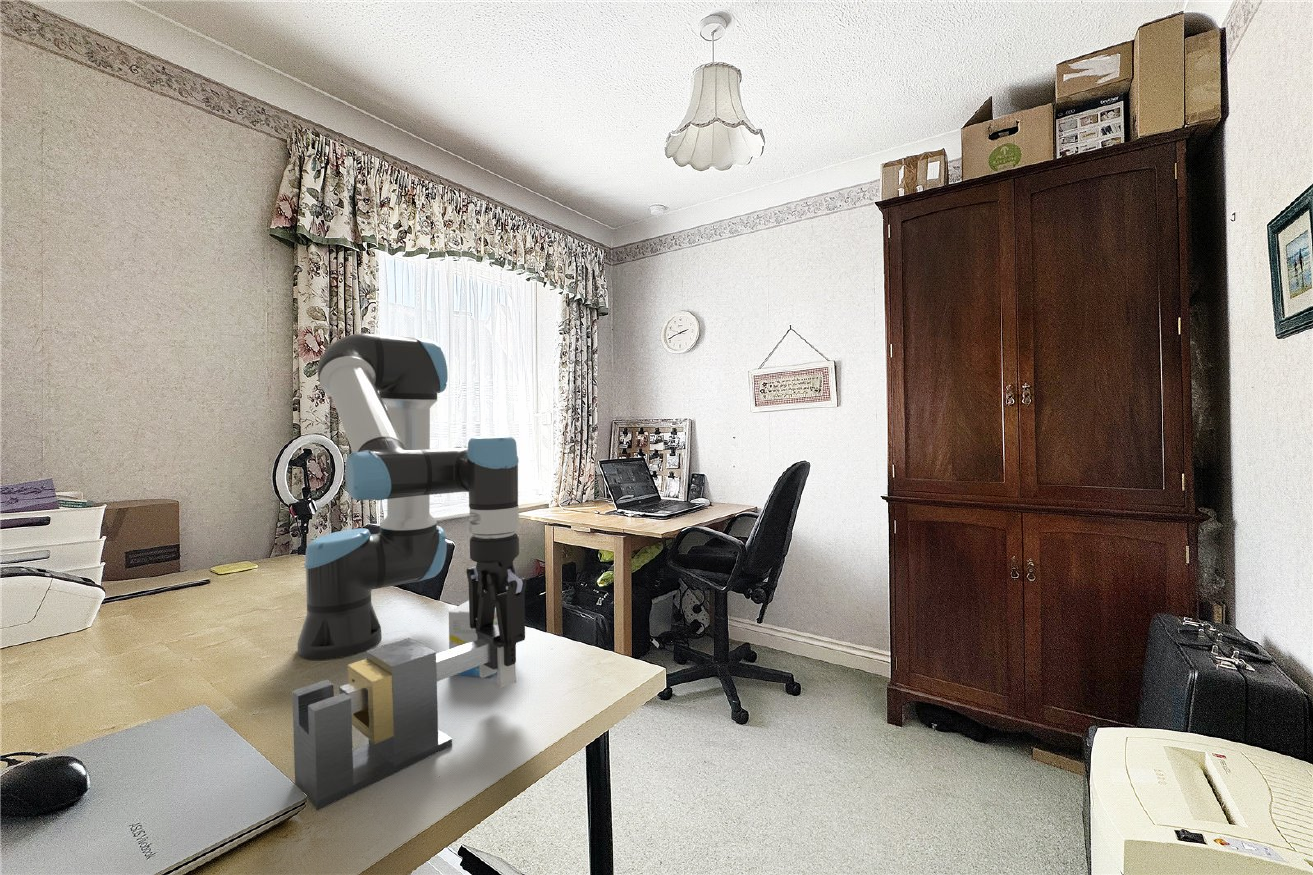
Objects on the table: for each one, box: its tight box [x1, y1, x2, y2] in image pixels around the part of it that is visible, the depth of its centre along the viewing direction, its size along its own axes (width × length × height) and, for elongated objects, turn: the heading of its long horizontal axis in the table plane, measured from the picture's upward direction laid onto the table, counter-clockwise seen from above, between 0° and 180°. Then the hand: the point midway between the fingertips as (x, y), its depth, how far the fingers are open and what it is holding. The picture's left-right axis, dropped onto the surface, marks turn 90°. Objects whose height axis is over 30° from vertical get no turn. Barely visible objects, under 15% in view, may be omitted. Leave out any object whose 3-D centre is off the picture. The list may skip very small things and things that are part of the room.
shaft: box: [339, 624, 500, 714], centre depth 80 cm, size 4×24×5 cm, turn 139°
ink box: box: [448, 599, 498, 678], centre depth 104 cm, size 9×8×12 cm
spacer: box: [347, 658, 394, 744], centre depth 73 cm, size 8×2×8 cm, turn 49°
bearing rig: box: [291, 637, 453, 811], centre depth 74 cm, size 8×17×14 cm, turn 139°
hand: (497, 678), depth 88 cm, fingers closed on shaft, 4 cm apart
